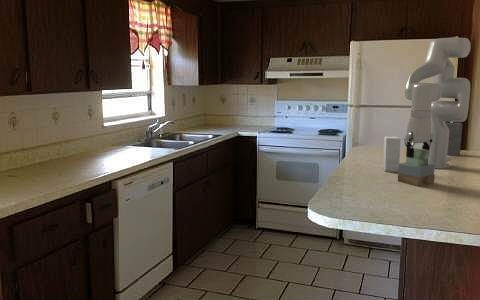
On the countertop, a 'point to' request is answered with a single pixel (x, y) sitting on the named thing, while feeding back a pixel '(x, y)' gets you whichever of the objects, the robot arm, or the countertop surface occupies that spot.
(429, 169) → the slab top
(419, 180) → the slab bottom
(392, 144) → the skincare box
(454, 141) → the dark grey upright block
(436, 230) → the countertop surface
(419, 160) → the sage block
